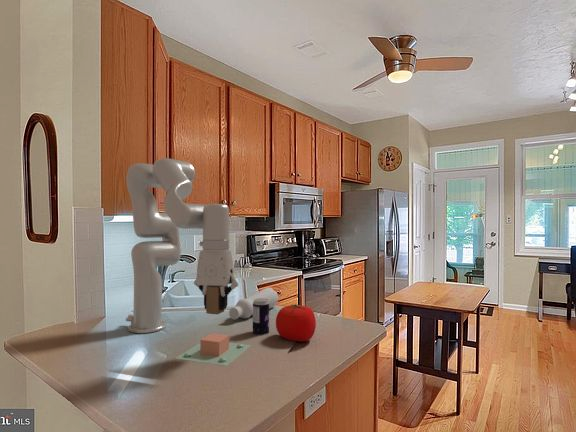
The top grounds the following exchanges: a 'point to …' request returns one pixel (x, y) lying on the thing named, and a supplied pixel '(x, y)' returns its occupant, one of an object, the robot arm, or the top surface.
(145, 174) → the robot arm
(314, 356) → the top surface
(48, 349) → the top surface
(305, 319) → the tomato
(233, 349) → the baseplate
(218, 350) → the brick
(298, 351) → the top surface
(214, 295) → the wooden block
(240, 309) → the bottle
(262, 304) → the beverage can
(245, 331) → the top surface
